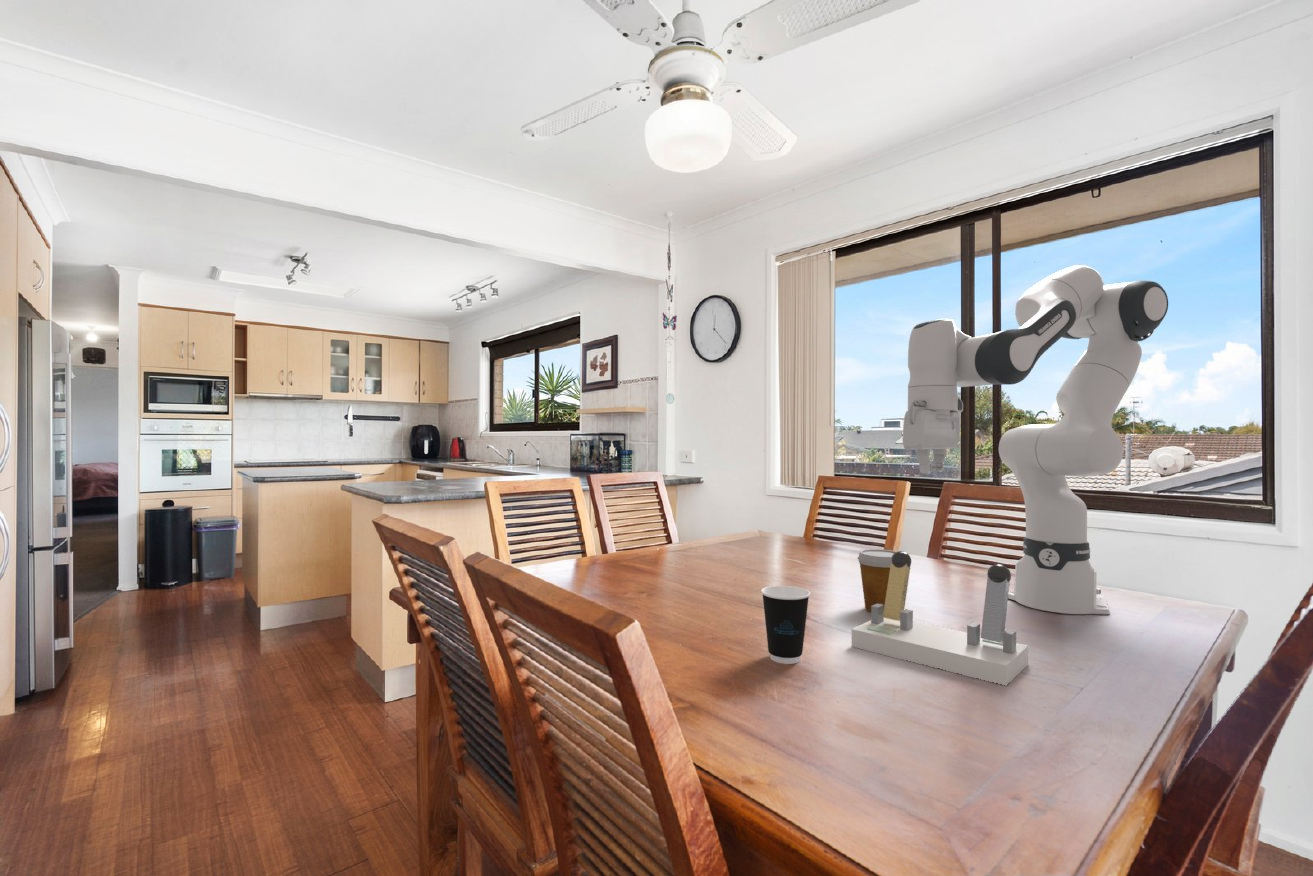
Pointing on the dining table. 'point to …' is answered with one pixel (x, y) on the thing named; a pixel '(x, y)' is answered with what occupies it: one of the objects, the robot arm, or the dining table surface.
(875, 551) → the disposable coffee cup
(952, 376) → the robot arm
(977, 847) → the dining table surface
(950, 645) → the switch panel
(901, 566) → the brass lever
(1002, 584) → the steel lever
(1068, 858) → the dining table surface
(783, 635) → the dixie cup
